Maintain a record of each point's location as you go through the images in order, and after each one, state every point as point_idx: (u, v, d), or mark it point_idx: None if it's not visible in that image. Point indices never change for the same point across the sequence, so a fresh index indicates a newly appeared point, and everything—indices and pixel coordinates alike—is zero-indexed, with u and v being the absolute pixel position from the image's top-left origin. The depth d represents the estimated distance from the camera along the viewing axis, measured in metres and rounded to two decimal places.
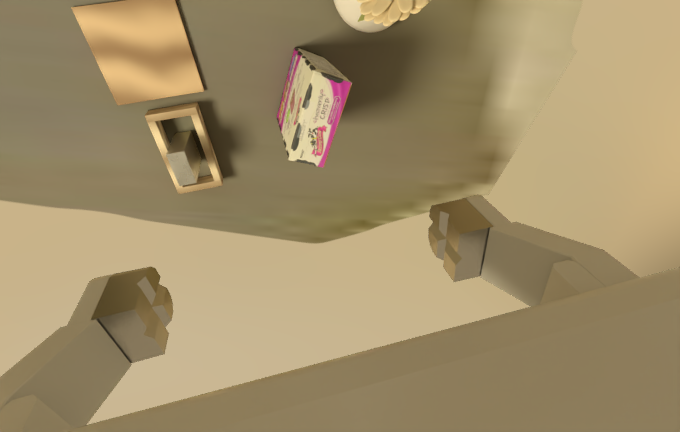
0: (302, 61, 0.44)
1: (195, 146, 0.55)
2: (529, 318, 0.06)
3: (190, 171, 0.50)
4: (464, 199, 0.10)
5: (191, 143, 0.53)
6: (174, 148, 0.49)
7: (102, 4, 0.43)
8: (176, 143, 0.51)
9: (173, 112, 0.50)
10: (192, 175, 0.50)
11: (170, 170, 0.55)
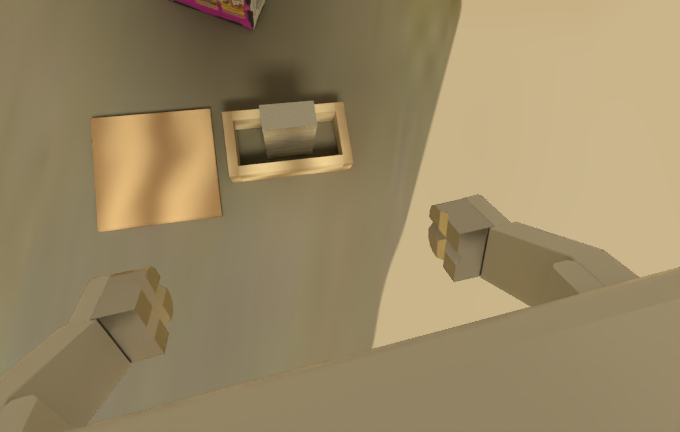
0: None
1: None
2: (528, 318, 0.06)
3: (293, 104, 0.32)
4: (464, 199, 0.10)
5: None
6: None
7: (97, 196, 0.36)
8: None
9: (227, 140, 0.36)
10: (300, 103, 0.32)
11: (313, 164, 0.37)
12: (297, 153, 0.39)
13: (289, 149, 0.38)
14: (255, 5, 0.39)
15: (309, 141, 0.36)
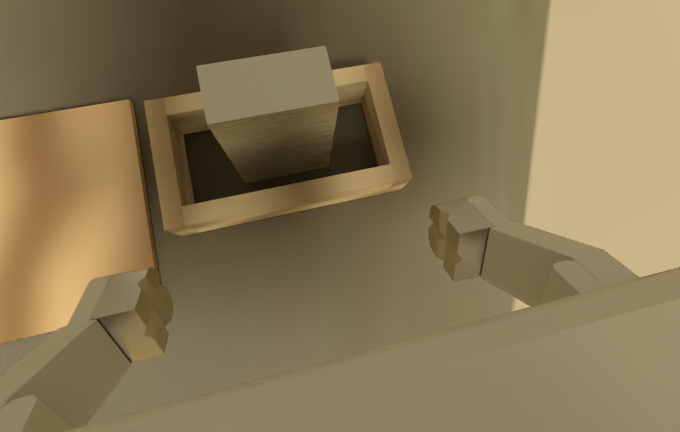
0: None
1: None
2: (529, 318, 0.06)
3: (278, 58, 0.14)
4: (464, 199, 0.10)
5: None
6: None
7: None
8: None
9: (157, 155, 0.18)
10: (295, 54, 0.14)
11: (335, 188, 0.18)
12: (301, 168, 0.20)
13: (284, 163, 0.19)
14: None
15: (322, 143, 0.17)
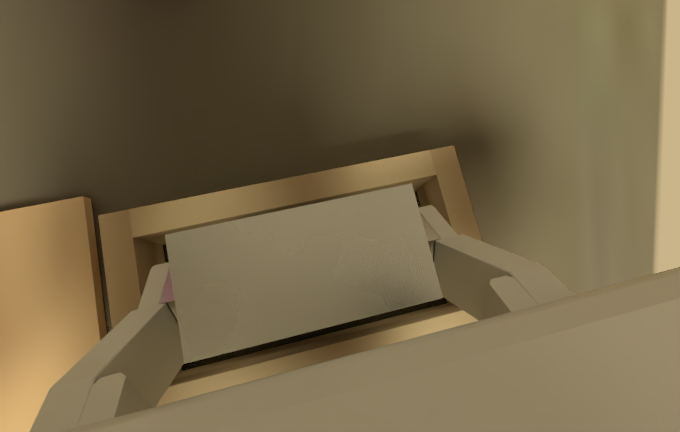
0: None
1: None
2: (529, 318, 0.06)
3: (324, 213, 0.07)
4: None
5: None
6: None
7: None
8: None
9: (117, 304, 0.12)
10: (356, 202, 0.07)
11: None
12: None
13: None
14: None
15: None
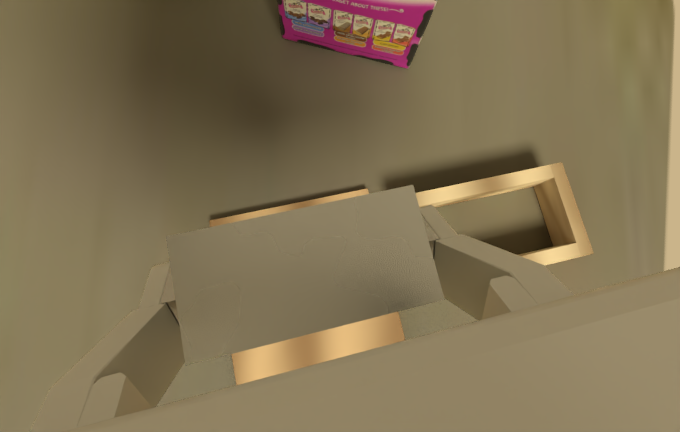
0: None
1: None
2: (529, 318, 0.06)
3: (325, 214, 0.07)
4: None
5: None
6: None
7: None
8: None
9: None
10: (357, 203, 0.07)
11: (538, 262, 0.25)
12: None
13: None
14: None
15: None
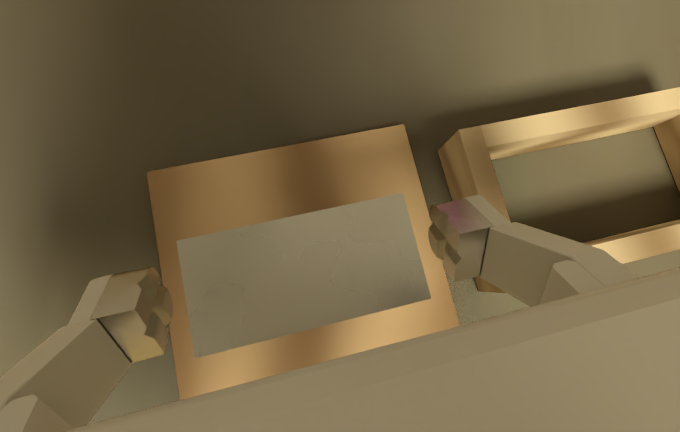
0: None
1: None
2: (529, 318, 0.06)
3: (322, 220, 0.08)
4: (463, 199, 0.10)
5: None
6: None
7: (178, 368, 0.14)
8: None
9: (485, 198, 0.15)
10: (351, 210, 0.08)
11: None
12: None
13: None
14: None
15: None
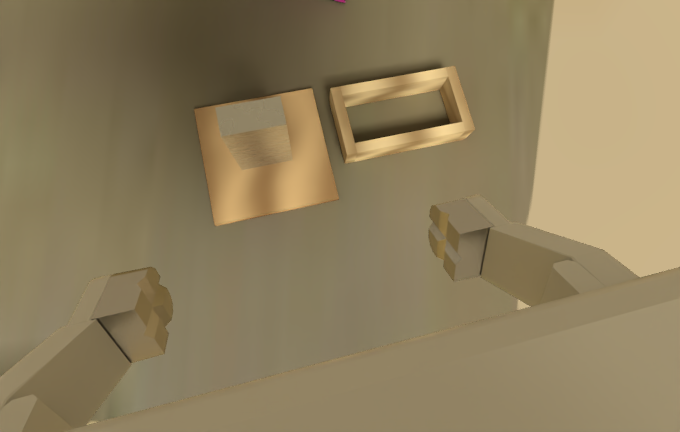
0: None
1: None
2: (529, 319, 0.06)
3: (256, 103, 0.27)
4: (464, 199, 0.10)
5: None
6: None
7: (209, 189, 0.34)
8: None
9: (340, 116, 0.34)
10: (264, 100, 0.27)
11: (433, 134, 0.34)
12: (275, 160, 0.34)
13: (264, 157, 0.32)
14: None
15: (284, 145, 0.31)
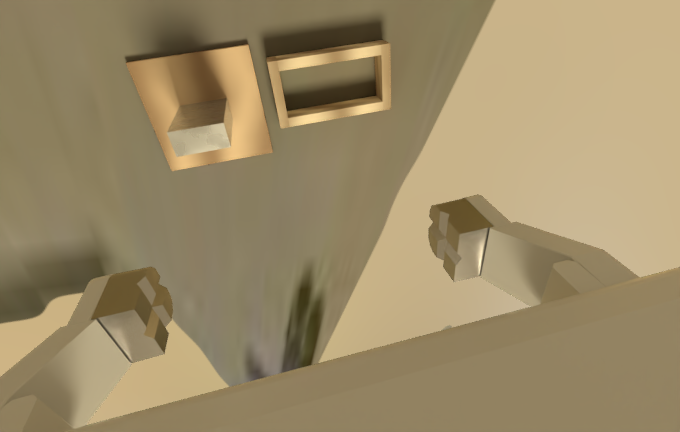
0: None
1: (201, 104, 0.37)
2: (529, 318, 0.06)
3: (202, 128, 0.32)
4: (464, 199, 0.10)
5: (187, 111, 0.36)
6: None
7: (160, 142, 0.39)
8: None
9: (276, 93, 0.37)
10: (210, 126, 0.32)
11: (355, 112, 0.40)
12: None
13: None
14: None
15: None
